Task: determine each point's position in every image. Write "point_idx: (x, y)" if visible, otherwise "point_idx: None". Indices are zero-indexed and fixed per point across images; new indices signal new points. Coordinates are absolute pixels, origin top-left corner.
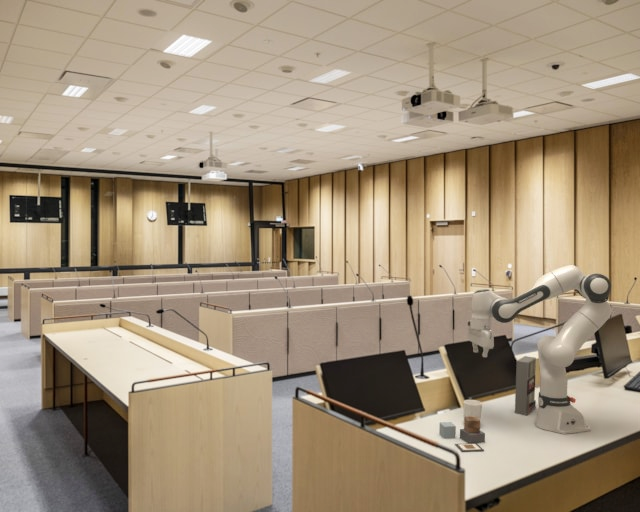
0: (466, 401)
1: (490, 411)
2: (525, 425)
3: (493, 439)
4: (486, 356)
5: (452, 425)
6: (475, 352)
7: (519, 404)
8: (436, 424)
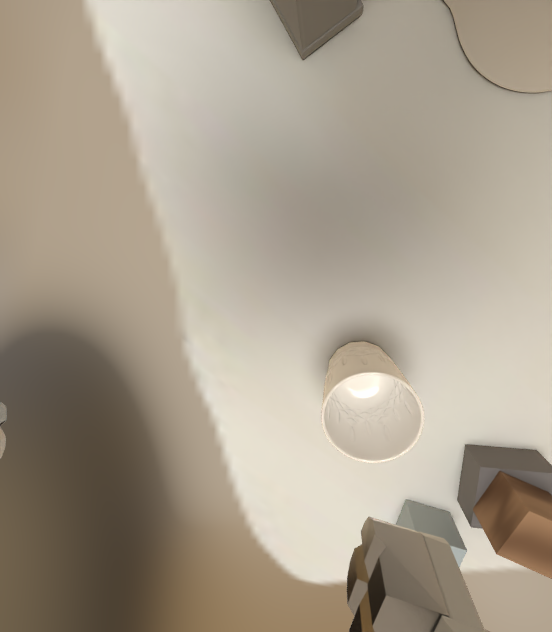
0: (325, 417)
1: (244, 175)
2: (469, 139)
3: (531, 401)
4: (444, 559)
5: (454, 555)
6: (2, 450)
7: (321, 10)
8: (308, 487)
